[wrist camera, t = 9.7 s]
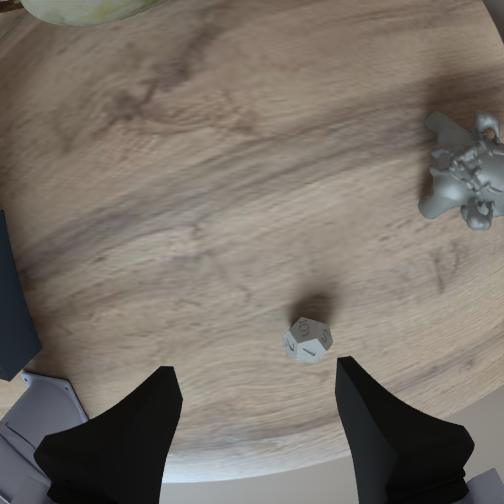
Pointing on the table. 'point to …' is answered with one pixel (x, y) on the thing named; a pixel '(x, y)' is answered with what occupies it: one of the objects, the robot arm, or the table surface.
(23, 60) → the table surface
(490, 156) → the elephant statuette
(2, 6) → the sugar bowl
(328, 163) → the table surface
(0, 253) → the compartment
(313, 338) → the game die
